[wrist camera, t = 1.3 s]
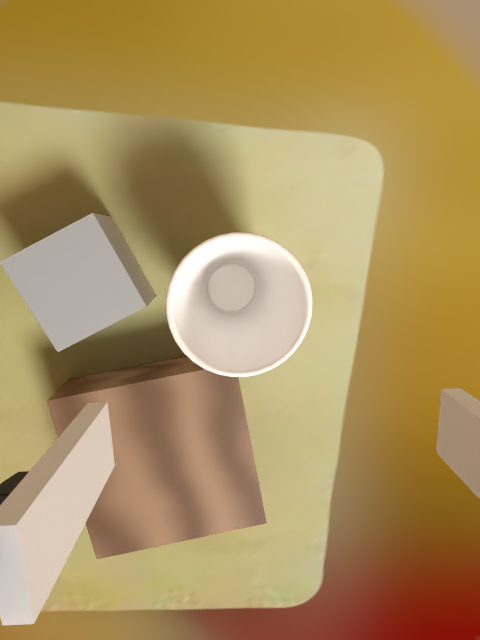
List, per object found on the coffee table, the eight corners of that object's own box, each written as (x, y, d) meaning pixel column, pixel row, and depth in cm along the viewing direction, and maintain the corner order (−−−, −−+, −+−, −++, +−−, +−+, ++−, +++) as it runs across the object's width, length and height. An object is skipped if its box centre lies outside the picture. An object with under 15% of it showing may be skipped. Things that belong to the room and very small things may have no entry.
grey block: (81, 334, 37) (57, 352, 31) (33, 258, 35) (-1, 262, 30) (156, 295, 37) (146, 306, 31) (112, 216, 35) (92, 212, 29)
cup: (275, 342, 39) (301, 383, 28) (173, 332, 38) (159, 371, 27) (290, 240, 37) (324, 241, 26) (183, 226, 36) (172, 222, 25)
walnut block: (110, 521, 41) (96, 559, 36) (68, 379, 38) (47, 400, 33) (259, 489, 42) (266, 523, 37) (232, 347, 38) (235, 363, 33)
